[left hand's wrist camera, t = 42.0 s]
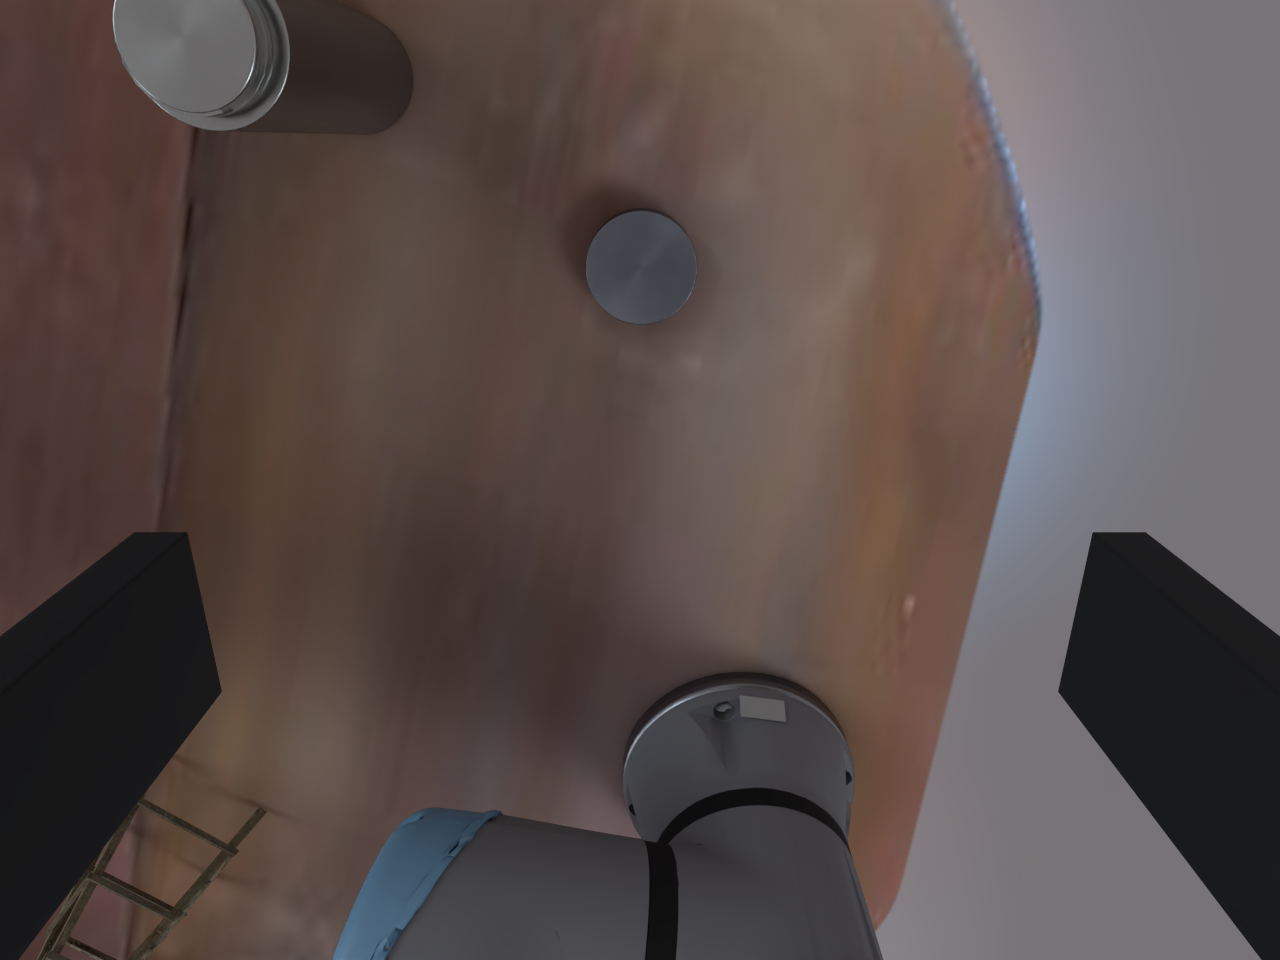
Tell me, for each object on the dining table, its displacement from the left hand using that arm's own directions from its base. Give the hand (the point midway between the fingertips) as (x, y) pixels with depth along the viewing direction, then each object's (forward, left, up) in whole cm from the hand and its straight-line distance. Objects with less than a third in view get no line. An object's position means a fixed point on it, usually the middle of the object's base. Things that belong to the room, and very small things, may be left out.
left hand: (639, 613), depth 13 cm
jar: (+17, 0, -36) cm, 40 cm away
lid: (0, 0, -34) cm, 35 cm away
